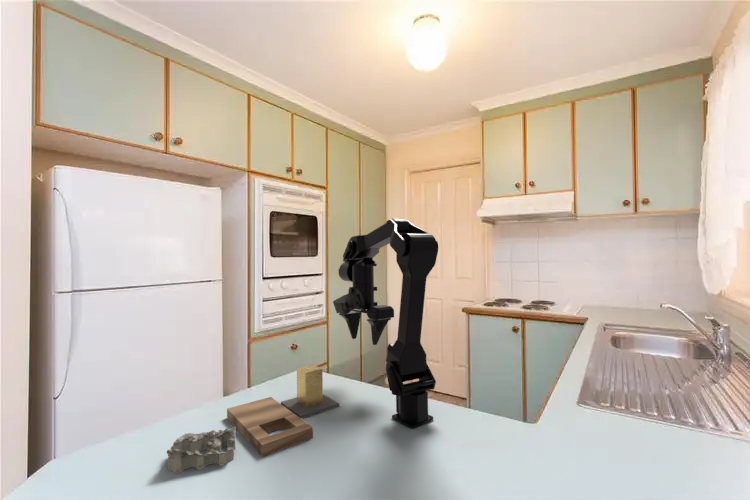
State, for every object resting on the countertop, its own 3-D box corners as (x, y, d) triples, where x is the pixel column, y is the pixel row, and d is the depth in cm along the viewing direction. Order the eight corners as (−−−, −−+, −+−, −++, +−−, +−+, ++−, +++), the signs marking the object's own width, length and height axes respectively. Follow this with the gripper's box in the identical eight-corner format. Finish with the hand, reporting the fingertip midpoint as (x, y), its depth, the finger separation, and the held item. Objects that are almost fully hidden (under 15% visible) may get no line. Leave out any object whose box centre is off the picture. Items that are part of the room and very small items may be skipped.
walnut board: (312, 437, 70) (312, 427, 70) (262, 456, 63) (262, 444, 63) (271, 405, 85) (270, 396, 85) (227, 417, 79) (227, 408, 79)
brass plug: (322, 403, 85) (322, 368, 85) (305, 408, 82) (305, 372, 82) (313, 397, 88) (313, 364, 88) (297, 402, 85) (296, 368, 85)
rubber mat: (339, 406, 84) (339, 403, 84) (300, 418, 78) (300, 415, 78) (317, 393, 92) (317, 391, 92) (280, 404, 86) (280, 401, 86)
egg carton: (162, 477, 58) (162, 451, 58) (176, 453, 66) (176, 430, 66) (233, 466, 61) (232, 441, 61) (238, 444, 68) (238, 422, 68)
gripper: (319, 283, 99) (320, 340, 99) (359, 287, 85) (360, 354, 84) (352, 281, 106) (353, 334, 106) (395, 284, 92) (396, 346, 91)
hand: (364, 341), depth 97 cm, fingers open, 9 cm apart
